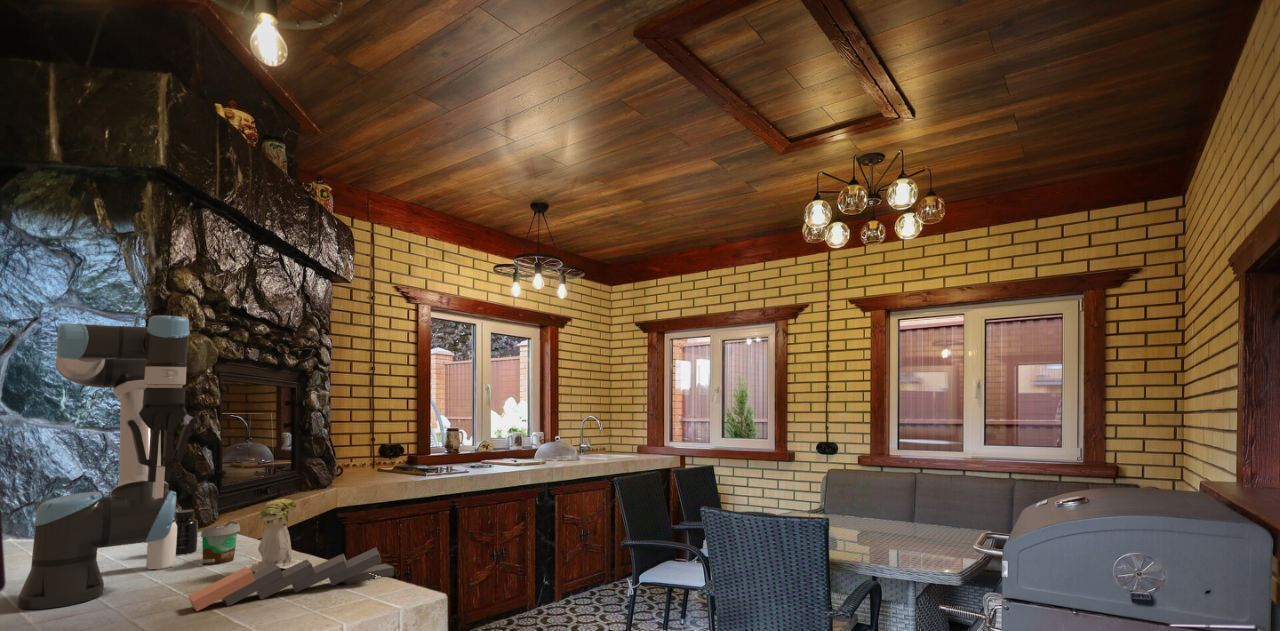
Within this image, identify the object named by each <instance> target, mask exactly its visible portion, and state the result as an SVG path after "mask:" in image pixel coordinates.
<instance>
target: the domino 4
mask: <svg viewBox="0 0 1280 631" xmlns="http://www.w3.org/2000/svg"><path fill="white" fill-rule="evenodd" d="M312 567H313V569H314V572H315V573H314V574H312V575H310V576H308V577H306V578H304V579H302V580H300V581H298V582H296V583H294V584H292V585H291V586H292V588H293V591H294V592H295V594H296V593H298V592H301V591H303V590H305V589H308V588H310V587H311V586H313V585H316V584H319V583H321V582H323V581H325V580H327V579H329V577H332V576H334V575H336V574H338V573H340V572H343V571H345V570H347V569H348V568H347V559H346V557H345V554H344V553H341V554H338V555H337V556H335V557H333V558H329V559H328V560H326V561H324V562H321V563H319V564H317V565H314V566H312Z"/></svg>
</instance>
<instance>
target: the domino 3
mask: <svg viewBox="0 0 1280 631" xmlns="http://www.w3.org/2000/svg"><path fill="white" fill-rule="evenodd" d="M313 567H314V566H313V564H312V563H311V562H310V561H309V560H308V559H304V560H302V562H300V563H298V564H296V565H294V566H292V567H289V568H288V569H287V568H286V569H284V570H281V572H282V574H283V577H282V578H280V579H278V580H276V581H275V582H273V583H271V584H269V585H267V586H265V587H263V588H262V589H260V590H258V591H256V592H255V593H256V595H257V596H259V597H260V598H259V597H258V598H259V599H260V600H261V599H262V600H265V599H267V597H270V596H271V595H273V594H276V593H277V592H279V591H281V590H283V589H286V588H288V587H290V586H292V584H294V583H296V582H298V581H300V580H302V579H304V578H306V577H308V576H310V575H312V574H314V573H315V572H314V569H313Z"/></svg>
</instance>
